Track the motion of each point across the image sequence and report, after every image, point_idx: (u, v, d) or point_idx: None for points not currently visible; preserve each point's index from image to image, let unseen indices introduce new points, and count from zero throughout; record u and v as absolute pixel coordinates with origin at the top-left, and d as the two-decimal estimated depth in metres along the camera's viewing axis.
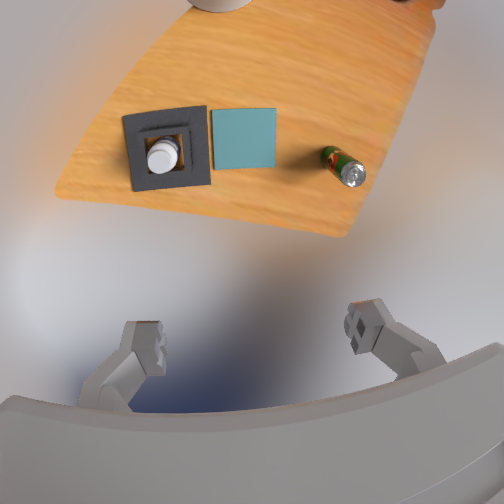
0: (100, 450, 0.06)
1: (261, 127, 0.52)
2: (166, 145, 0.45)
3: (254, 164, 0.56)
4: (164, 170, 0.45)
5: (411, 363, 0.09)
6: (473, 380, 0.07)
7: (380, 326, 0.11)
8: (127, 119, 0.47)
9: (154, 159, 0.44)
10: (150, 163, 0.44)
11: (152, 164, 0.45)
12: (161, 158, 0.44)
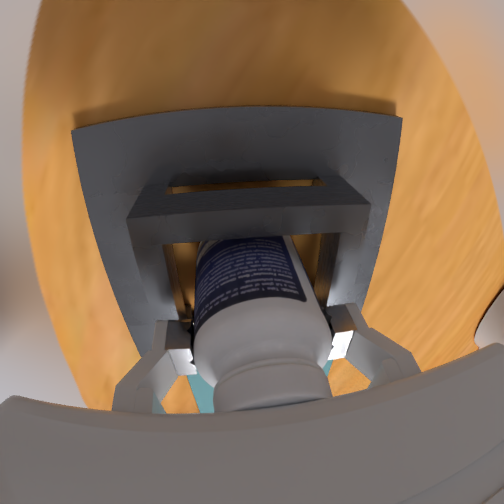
0: (100, 450, 0.06)
1: None
2: None
3: (205, 406, 0.25)
4: None
5: (382, 371, 0.09)
6: (473, 381, 0.07)
7: (351, 332, 0.10)
8: (388, 130, 0.12)
9: None
10: (278, 405, 0.08)
11: None
12: None
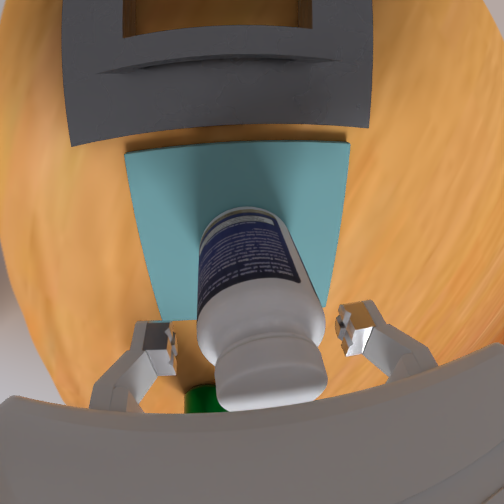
0: (100, 450, 0.06)
1: None
2: None
3: (159, 274, 0.18)
4: (233, 408, 0.10)
5: (401, 366, 0.09)
6: (473, 380, 0.07)
7: (370, 328, 0.11)
8: None
9: (293, 382, 0.09)
10: (274, 375, 0.09)
11: (269, 379, 0.09)
12: (290, 397, 0.10)
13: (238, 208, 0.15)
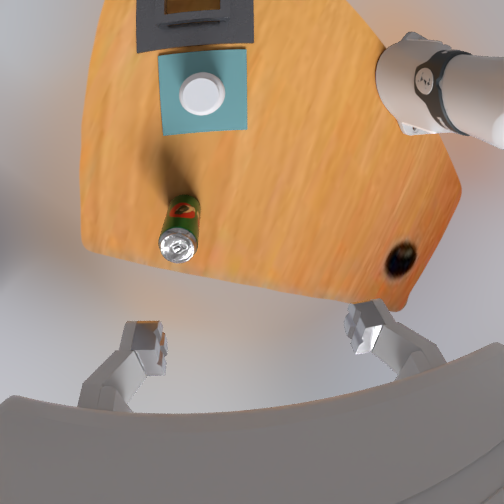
0: (100, 450, 0.06)
1: (219, 111, 0.37)
2: (222, 101, 0.30)
3: (165, 107, 0.36)
4: (187, 102, 0.28)
5: (411, 363, 0.09)
6: (473, 380, 0.07)
7: (380, 326, 0.11)
8: None
9: (206, 88, 0.27)
10: (199, 82, 0.26)
11: (198, 84, 0.27)
12: (207, 98, 0.28)
13: None
